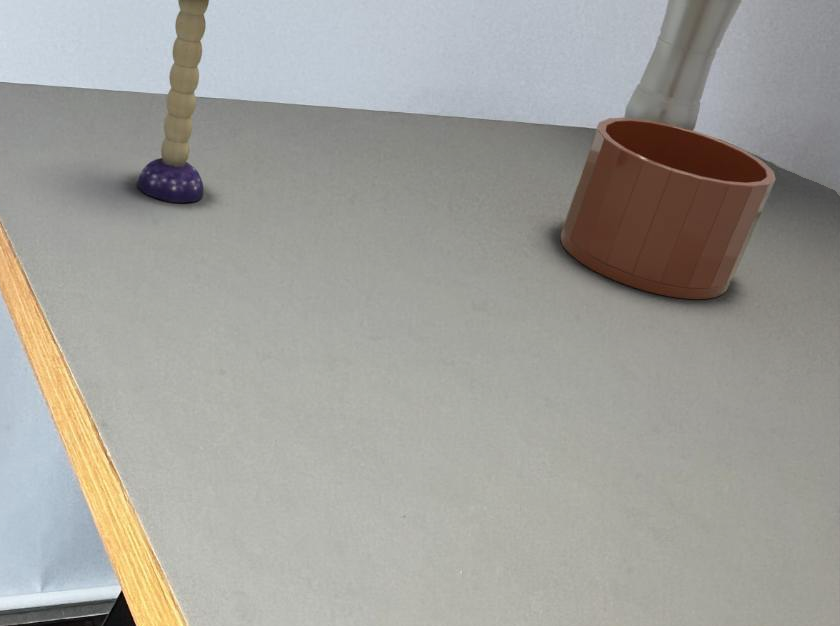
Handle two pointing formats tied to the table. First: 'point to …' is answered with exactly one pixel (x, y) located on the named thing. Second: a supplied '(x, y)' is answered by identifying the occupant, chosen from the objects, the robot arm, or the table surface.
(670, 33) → the plastic bottle
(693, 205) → the crock
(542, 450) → the table surface
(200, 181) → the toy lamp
